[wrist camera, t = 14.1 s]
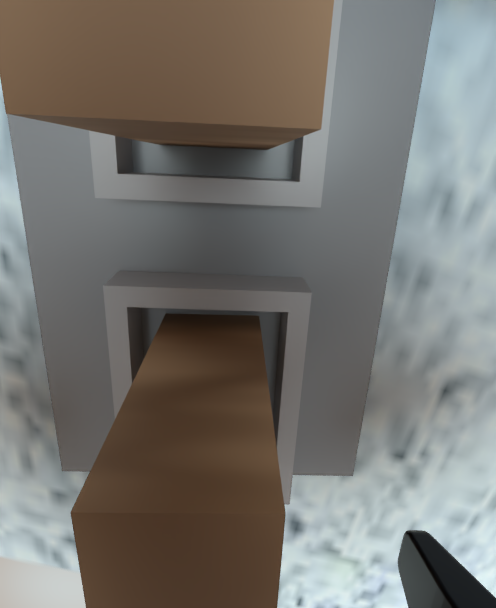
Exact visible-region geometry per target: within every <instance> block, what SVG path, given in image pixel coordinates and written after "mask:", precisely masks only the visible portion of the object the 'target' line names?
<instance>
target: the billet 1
mask: <svg viewBox="0 0 496 608" xmlns="http://www.w3.org/2000/svg"><path fill="white" fill-rule="evenodd" d="M333 6H334V0H0V77H1V84H2V90H3V97H4V103H5V110H6V114H11V115H16V116H21V117H25V118H30V119H35V120H40V121H45V122H50V123H55V124H60V125H65V126H70V127H74V128H79V129H84V130H89V131H94V132H99V133H104V134H109V135H114V136H119V137H123V138H128V139H133V140H138V141H143V142H148V143H153V144H158V145H175V146H196V147H217V148H238V149H259V150H268V149H271V148H274V147H276V146H279V145H281V144H284V143H287V142H289V141H292V140H295V139H297V138H300V137H302V136H305V135H308V134H310V133H313V132H315V131H318V130H321V127H322V117H323V107H324V97H325V87H326V77H327V67H328V57H329V47H330V37H331V27H332V16H333Z"/></svg>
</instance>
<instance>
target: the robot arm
mask: <svg viewBox="0 0 496 608" xmlns="http://www.w3.org/2000/svg"><path fill="white" fill-rule="evenodd" d="M398 568H399V573H400V577H401V581H402V585H403V588H404V592H405V596H406V600H407V604H408V608H496V598H495V597H494V596H493V595H492V594H491V593H490V592H489V591H488V590H487V589H486V588H485V587H484V586H483V585H482V584H481V583H480V582H479V581H478V580H477V579H476V578H475V577H474V576H473V575H472V574H471V573H469V572H468V571H467V570H466V569H465V568H464V567H463V566H462V565H461V564H460V563H459V562H458V561H457V560H456V559H455V558H454V557H453V556H452V555H451V554H450V553H449V552H448V551H447V550H446V549H445V548H444V547H443V546H442V545H441V544H440V543H439V542H438V541H436V540H435V539H434V538H433V537H432V536H431V535H430V534H429V533H427V532H426V531H418V530H409V531H406V532H405V534H404V536H403V540H402V544H401V548H400V553H399V557H398Z"/></svg>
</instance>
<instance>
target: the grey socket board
mask: <svg viewBox="0 0 496 608" xmlns="http://www.w3.org/2000/svg"><path fill="white" fill-rule="evenodd" d="M435 1H436V0H334V6H333V16H332V27H331V37H330V47H329V57H328V67H327V77H326V87H325V97H324V107H323V117H322V127H321V130H318V131H315V132H313V133H310V134H308V135H305V136H302V137H300V138H297V139H295V140H292V141H289V142H287V143H284V144H281V145H279V146H276V147H274V148H271V149H268V150H259V149H238V148H217V147H196V146H175V145H158V144H153V143H148V142H143V141H138V140H133V139H128V138H123V137H119V136H114V135H109V134H104V133H99V132H94V131H89V130H84V129H79V128H74V127H70V126H65V125H60V124H55V123H50V122H45V121H40V120H35V119H30V118H25V117H21V116H16V115H11V114H7V116H8V122H9V129H10V135H11V142H12V148H13V155H14V161H15V167H16V174H17V180H18V187H19V193H20V200H21V206H22V213H23V219H24V226H25V232H26V239H27V245H28V252H29V258H30V265H31V271H32V278H33V284H34V291H35V297H36V304H37V310H38V316H39V323H40V329H41V336H42V342H43V349H44V355H45V362H46V368H47V375H48V381H49V388H50V394H51V401H52V407H53V414H54V420H55V427H56V433H57V440H58V446H59V453H60V459H61V465H62V471H91V469H92V467H93V465H94V462H95V460H96V458H97V456H98V454H99V452H100V450H101V448H102V446H103V444H104V442H105V439H106V437H107V435H108V433H109V431H110V429H111V427H112V425H113V423H114V421H115V418H116V416H117V414H118V412H119V410H120V408H121V406H122V404H123V402H124V400H125V398H126V395H127V393H128V391H129V389H130V387H131V385H132V383H133V381H134V379H135V377H136V374H137V372H138V370H139V368H140V366H141V364H142V362H143V360H144V358H145V356H146V354H147V351H148V349H149V347H150V345H151V343H152V341H153V339H154V337H155V335H156V333H157V330H158V328H159V326H160V324H161V322H162V320H163V318H164V316H165V314H166V313H169V314H211V315H253V316H259V319H260V327H261V334H262V342H263V349H264V357H265V364H266V372H267V379H268V387H269V394H270V402H271V409H272V417H273V424H274V432H275V439H276V447H277V454H278V462H279V469H280V477H281V484H282V492H283V499H284V504H289V503H290V494H291V484H292V475H333V476H353V471H354V466H355V460H356V454H357V448H358V443H359V437H360V431H361V425H362V420H363V414H364V408H365V403H366V397H367V391H368V385H369V380H370V374H371V368H372V362H373V357H374V351H375V345H376V340H377V334H378V328H379V322H380V317H381V311H382V305H383V299H384V294H385V288H386V282H387V276H388V271H389V265H390V259H391V254H392V248H393V242H394V236H395V231H396V225H397V219H398V213H399V208H400V202H401V196H402V190H403V185H404V179H405V173H406V168H407V162H408V156H409V150H410V145H411V139H412V133H413V127H414V122H415V116H416V110H417V105H418V99H419V93H420V87H421V82H422V76H423V70H424V64H425V59H426V53H427V47H428V41H429V36H430V30H431V24H432V19H433V13H434V7H435Z"/></svg>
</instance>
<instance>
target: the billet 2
mask: <svg viewBox="0 0 496 608" xmlns="http://www.w3.org/2000/svg"><path fill="white" fill-rule="evenodd" d="M71 518H72V524H73V530H74V536H75V542H76V548H77V554H78V561H79V567H80V573H81V578H82V585H83V591H84V597H85V603H86V608H277V601H278V590H279V579H280V568H281V557H282V546H283V535H284V524H285V507H284V499H283V492H282V484H281V477H280V469H279V462H278V454H277V447H276V439H275V432H274V424H273V417H272V409H271V402H270V394H269V387H268V379H267V372H266V364H265V357H264V349H263V342H262V334H261V327H260V319H259V316H253V315H211V314H169V313H166V314H165V316H164V318H163V320H162V322H161V324H160V326H159V328H158V330H157V333H156V335H155V337H154V339H153V341H152V343H151V345H150V347H149V349H148V351H147V354H146V356H145V358H144V360H143V362H142V364H141V366H140V368H139V370H138V372H137V374H136V377H135V379H134V381H133V383H132V385H131V387H130V389H129V391H128V393H127V395H126V398H125V400H124V402H123V404H122V406H121V408H120V410H119V412H118V414H117V416H116V418H115V421H114V423H113V425H112V427H111V429H110V431H109V433H108V435H107V437H106V439H105V442H104V444H103V446H102V448H101V450H100V452H99V454H98V456H97V458H96V460H95V462H94V465H93V467H92V469H91V471H90V473H89V475H88V477H87V479H86V481H85V483H84V486H83V488H82V490H81V492H80V494H79V496H78V498H77V500H76V502H75V504H74V506H73V509H72V511H71Z"/></svg>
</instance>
